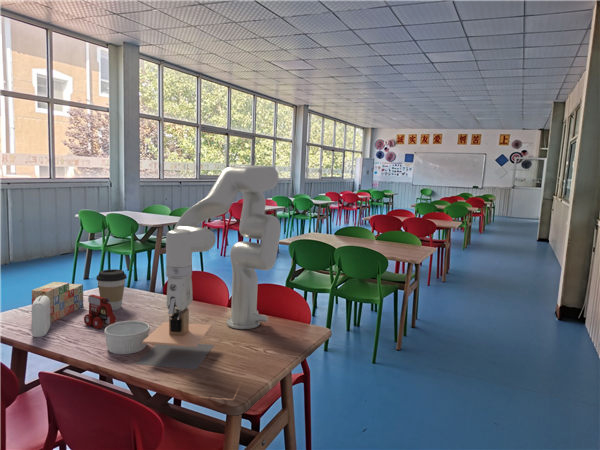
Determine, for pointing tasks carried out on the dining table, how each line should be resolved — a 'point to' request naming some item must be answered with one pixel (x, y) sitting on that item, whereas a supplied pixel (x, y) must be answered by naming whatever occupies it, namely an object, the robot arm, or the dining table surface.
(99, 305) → the toy fire truck
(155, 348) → the mat
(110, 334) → the ramekin
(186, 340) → the cover
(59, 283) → the stack of blocks
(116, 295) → the coffee cup
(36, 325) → the photo printer
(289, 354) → the dining table surface
